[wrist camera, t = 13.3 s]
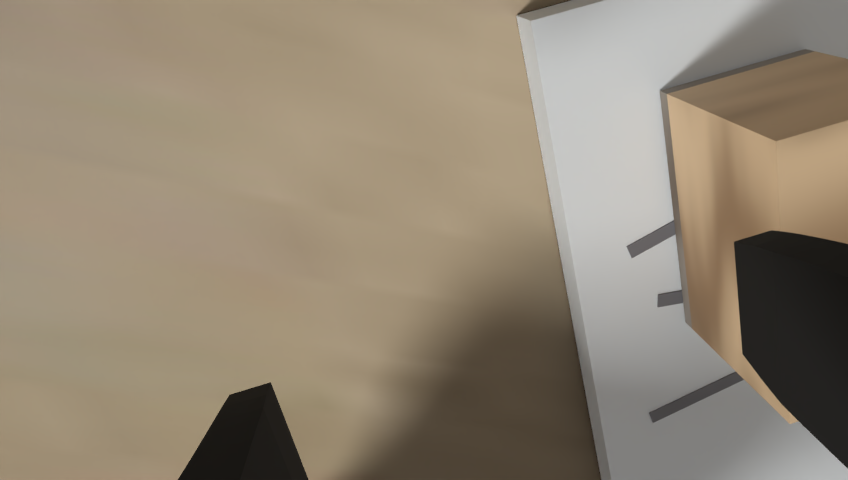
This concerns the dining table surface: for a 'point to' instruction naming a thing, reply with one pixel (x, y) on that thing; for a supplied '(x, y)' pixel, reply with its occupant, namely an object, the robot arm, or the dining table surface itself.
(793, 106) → the block
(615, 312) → the board
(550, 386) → the dining table surface
